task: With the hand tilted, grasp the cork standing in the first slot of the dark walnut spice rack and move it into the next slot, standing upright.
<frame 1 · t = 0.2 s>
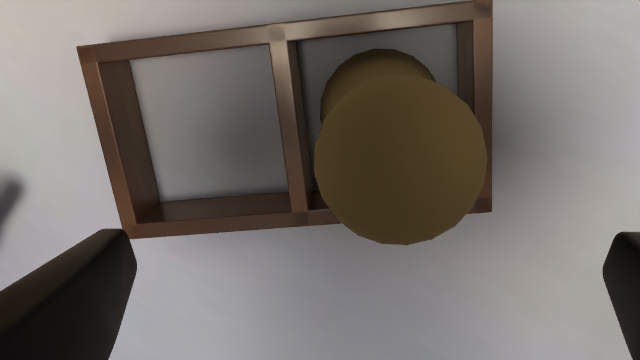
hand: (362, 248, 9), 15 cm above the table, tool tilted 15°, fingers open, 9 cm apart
cork: (380, 110, 23), resting in spice rack
spice rack: (296, 119, 24), on the table
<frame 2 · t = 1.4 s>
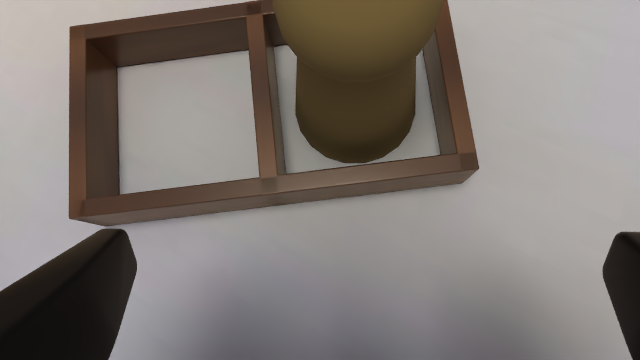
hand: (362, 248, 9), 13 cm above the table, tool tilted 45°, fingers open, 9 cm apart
cork: (354, 106, 24), resting in spice rack
spice rack: (272, 115, 24), on the table
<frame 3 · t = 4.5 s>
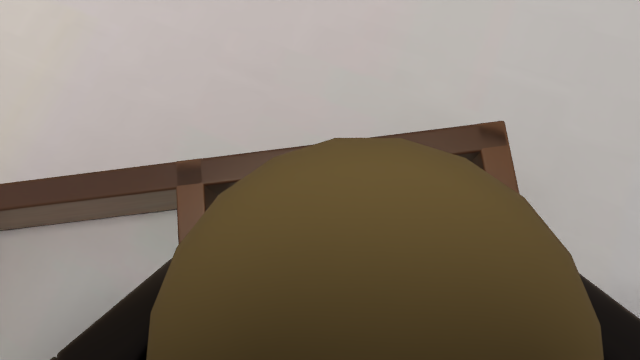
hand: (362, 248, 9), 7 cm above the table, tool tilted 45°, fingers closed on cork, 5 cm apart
cork: (356, 305, 15), resting in spice rack, touching gripper
spice rack: (227, 320, 15), on the table
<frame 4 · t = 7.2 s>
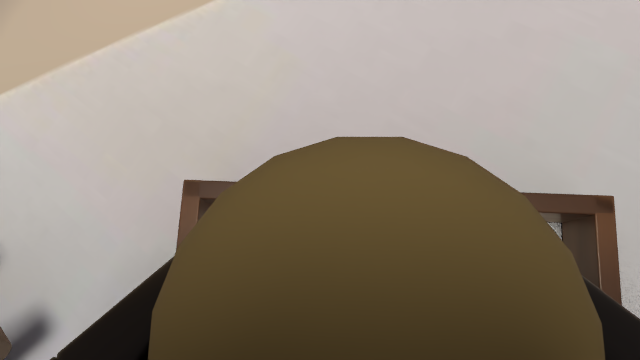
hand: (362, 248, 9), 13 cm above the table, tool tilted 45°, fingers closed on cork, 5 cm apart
cork: (357, 304, 15), point 6 cm above the table, touching gripper
spice rack: (384, 298, 21), on the table
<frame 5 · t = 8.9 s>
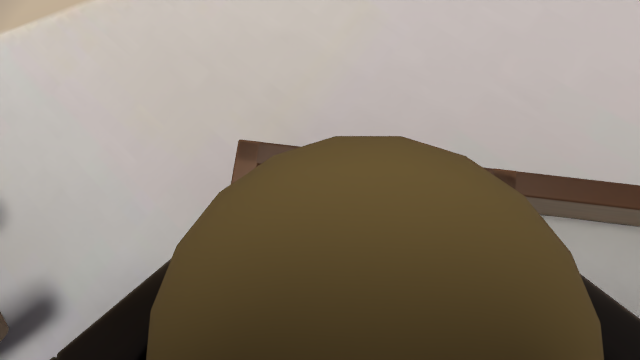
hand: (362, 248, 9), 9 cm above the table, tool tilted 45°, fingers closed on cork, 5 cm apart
cork: (356, 304, 15), point 2 cm above the table, touching gripper
spice rack: (471, 309, 17), on the table
when the fingers open (7 cm above the table, at t = 10.1 s): cork stays where it is, resting in spice rack.
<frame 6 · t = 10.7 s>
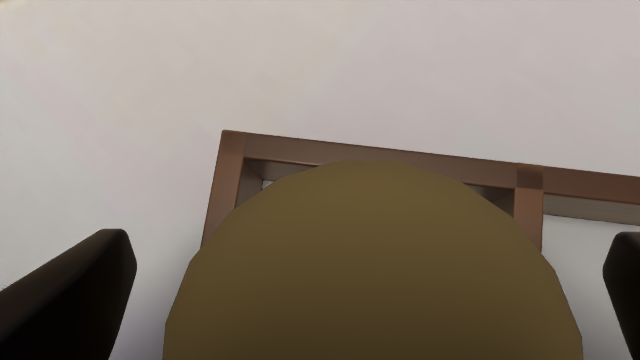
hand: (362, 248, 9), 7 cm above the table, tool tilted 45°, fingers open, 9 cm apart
cork: (356, 309, 15), resting in spice rack
spice rack: (488, 325, 15), on the table
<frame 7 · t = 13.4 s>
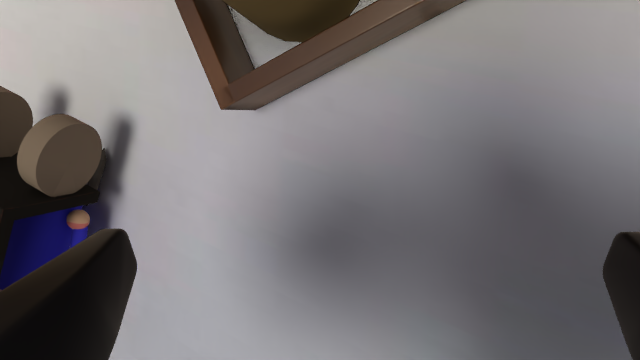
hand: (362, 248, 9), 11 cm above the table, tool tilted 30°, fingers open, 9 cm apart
figurine character: (68, 228, 27), on the table
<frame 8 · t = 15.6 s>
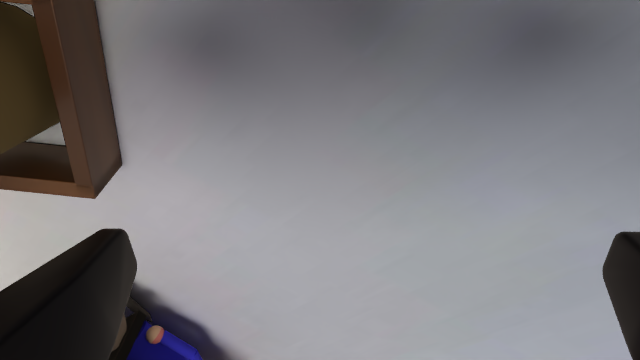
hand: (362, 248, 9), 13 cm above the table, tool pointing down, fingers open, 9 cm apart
cork: (11, 67, 21), resting in spice rack
figurine character: (169, 340, 31), on the table
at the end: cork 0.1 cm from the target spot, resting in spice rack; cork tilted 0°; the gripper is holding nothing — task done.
